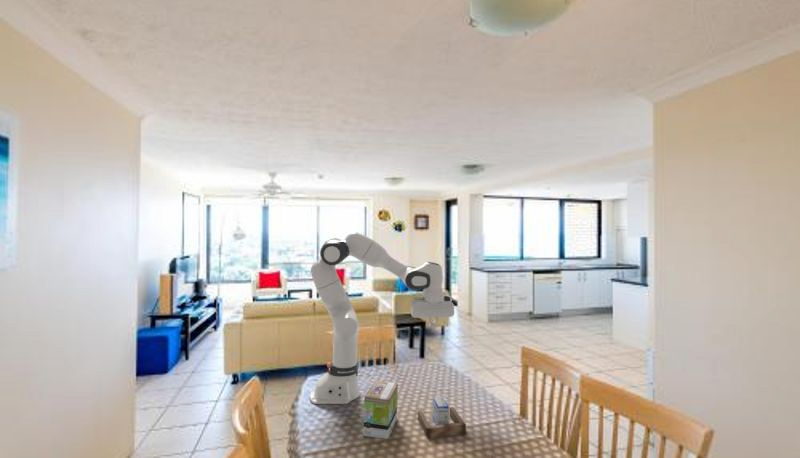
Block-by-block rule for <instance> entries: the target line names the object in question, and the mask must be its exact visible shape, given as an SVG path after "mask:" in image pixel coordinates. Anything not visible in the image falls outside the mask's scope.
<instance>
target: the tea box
mask: <svg viewBox="0 0 800 458" xmlns="http://www.w3.org/2000/svg"><path fill="white" fill-rule="evenodd" d="M398 392H399V385H398V383H397V382H389V381H388V382H386V381H378V380H375V381H374V382H373V383H372V385H371V386H370V388H369V389H368V391H367V392H366V393H365V395H364V397H363V398H364V403H363V426H362V428H363V429H362V436H365V437H371V438H377V439H385V440H388V439H389V437H390V435H391V433H392V431H393V428H394V426H395V423H396V421H397V419H398Z"/></svg>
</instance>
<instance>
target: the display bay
mask: <svg viewBox="0 0 800 458" xmlns="http://www.w3.org/2000/svg"><path fill="white" fill-rule="evenodd" d="M449 417H450V419H451V421H452V423H449V424H445V425H436V424H435V425H430V423H429V422H428V419H427V418H426V416H425V414H424V413H423V410H422V409H418V410H417V421H418V422H419V425H420V426H421V428H422V431H423V433H424V436H425V437H426V438H427V439H430V438H431V439H432V438H439V437H440V436H442V437H446V436H447V437H449V436H451V437H452V436H457V435H458V436H459V435H466V434H467V433H466V431H467V429H466V427H467V424H466V423H465V421H464V419H462V417H461V416H460V414H459V413H458V412H457V410H456V409H455V407H453V406H452V407H451V406H449ZM440 438H441V437H440Z"/></svg>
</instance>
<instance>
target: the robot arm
mask: <svg viewBox="0 0 800 458" xmlns="http://www.w3.org/2000/svg"><path fill="white" fill-rule="evenodd" d="M319 256H320V259H319V260H317V261H315V262H314V263H313V264H312V266H311V267H310V273H311V277H312V281H313V283H314V286H315V288H316V290H317V293H318V296H319V297H320V300H321V301H322V304H323V306H324V307H325V308H326V311H327V312H328V314H329V316H330V318H331V321H332V325H333V328H332V329H333V331H332V332H333V334H332V338H333V339H332V362H327V364H326V367H327V372H326V373H325V374H324V375H322V376H321V377H320V378H318V379H317V381H316V385H315V387H314V388H313V389H312V390H311V391H310V394H309V400H310V402H311V403H312V404H313V405H314V404H315V405H347V404H349V403H350V402H351V401H354V400H356V399H357V398H359V397H360V396H361V391H360V388H359V381H358V374H359V363H358V344H359V343H358V341H359V324H360V323H359V319H358V317H357V313H356V311H355V309H354V306H353V305H352V303H351V301H350V298H349V297H348V295H347V293H346V290H345V288H344V286H343V283H342V281H341V279H340V277H339V275H338V273H337V269H336V265H339V264H340V263H342V262H343V261H344V260H345V259H347V258H348V257H349V256H350V257H353V258H356V259H357V260H358V261H360V262H362V263H364V264H366V265H368V266H370V267H374V268H381V269H384V270H385V271H386V270H387V271H388V272H390V273H391V274H393V275H395V276H396V277H398V278H399V279H400V281H401V282H402V283H403V285H404V286H405V287H407V288H408V289H409V290H411V291H416V292H417V291H421V290H423V296H419V297H417V296H416V297H414V298H412V299H411V300H410V305H411V310H410V315H411V317H412V318H413V319H416V318H417V319H418V318H419V319H421V318H426V320H427V321H428V327H429V328H431V327H432V328H434V327H435V328H436V327H437V323H438V321H439V318H444V317H445V318H446V317H447V318H449V317H454V315H455V306H454V305H455V304H454V303H453V302H452V301H453V297H452V296H451V295H450V294H447V293H444V292H443V279H444V278H443V267H442V265H441V264H439V263H436V262H432V261H426V262H425V263H423V264H422V265H420V266H418V267H415V266H410V265H409V266H408V265H405V264H403V263H401V262H399V261H398V260H396V259H394V258H393V257H392V256H391V255H389V253H388V252H387V250H386V249H385V248H384V247H383V246H382V245H381V244H380V243H378V242H376V241H375V240H374V239H372V238H371V237H369V236H366V235H364V234H362V233H360V232H357V231H352V232H350V233H348V234H347V235H346V237H345V238H344V239H339V238H330V239H327V240H326V241H325V242H324V243H323V244H322V246H321V248H320V251H319ZM432 318H434V320H433V321H431V320H432Z"/></svg>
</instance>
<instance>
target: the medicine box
mask: <svg viewBox="0 0 800 458" xmlns="http://www.w3.org/2000/svg"><path fill="white" fill-rule="evenodd" d="M449 417H450V406H449V405H448V403H447V401H446V399H445V398H444V397H443V396H439V397H433V398H432V420H433V421H434V424H435V425H445V424H450V423H449V420H450V419H449Z"/></svg>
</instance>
